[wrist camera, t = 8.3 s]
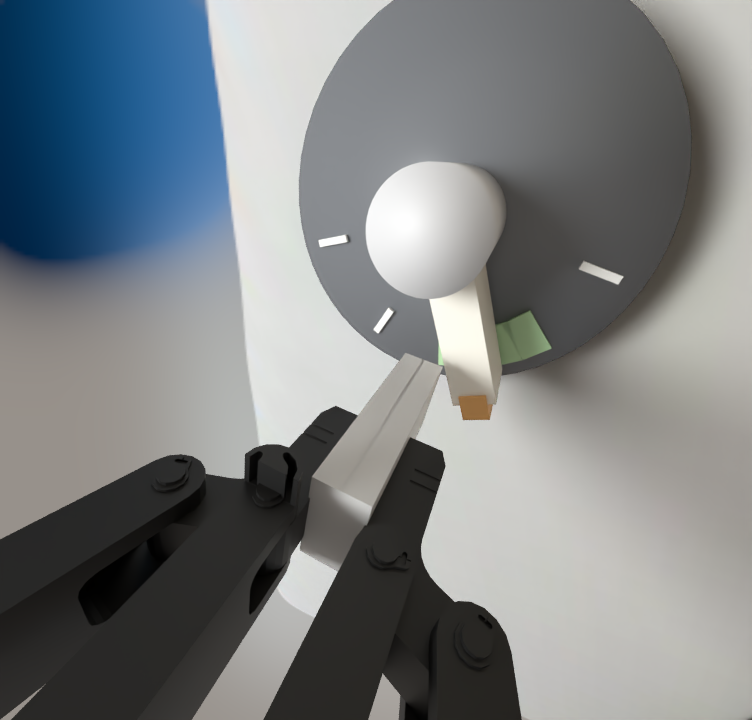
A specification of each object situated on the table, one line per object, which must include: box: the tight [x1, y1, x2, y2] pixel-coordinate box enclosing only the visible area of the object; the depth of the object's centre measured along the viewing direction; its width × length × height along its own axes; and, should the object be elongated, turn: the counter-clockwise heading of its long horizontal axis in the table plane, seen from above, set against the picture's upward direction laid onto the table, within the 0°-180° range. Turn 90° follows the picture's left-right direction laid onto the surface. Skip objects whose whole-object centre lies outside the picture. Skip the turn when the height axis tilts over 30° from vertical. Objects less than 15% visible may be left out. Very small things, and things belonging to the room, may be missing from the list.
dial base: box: [299, 0, 692, 375], centre depth 15 cm, size 14×14×2 cm
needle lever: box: [366, 161, 507, 420], centre depth 13 cm, size 9×4×4 cm, turn 16°
